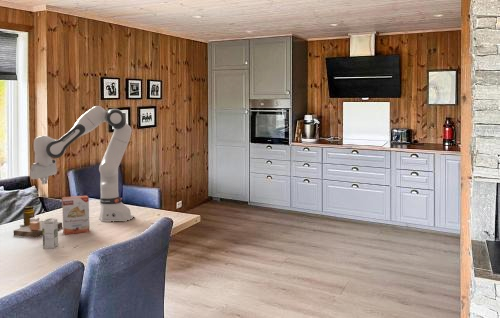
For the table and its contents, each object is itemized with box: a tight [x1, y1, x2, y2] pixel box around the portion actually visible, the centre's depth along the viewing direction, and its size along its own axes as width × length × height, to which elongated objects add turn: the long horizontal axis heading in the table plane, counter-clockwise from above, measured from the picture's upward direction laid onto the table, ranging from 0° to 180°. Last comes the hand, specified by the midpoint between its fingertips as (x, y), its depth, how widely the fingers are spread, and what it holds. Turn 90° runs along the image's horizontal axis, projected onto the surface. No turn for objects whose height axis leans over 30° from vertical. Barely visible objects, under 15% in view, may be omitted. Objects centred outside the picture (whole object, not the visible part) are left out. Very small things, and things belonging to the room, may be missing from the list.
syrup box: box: [42, 217, 59, 250], centre depth 227 cm, size 6×6×14 cm
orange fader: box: [30, 222, 40, 230], centre depth 248 cm, size 4×3×4 cm
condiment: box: [19, 205, 36, 228], centre depth 267 cm, size 7×8×12 cm
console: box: [13, 220, 63, 239], centre depth 256 cm, size 15×22×3 cm
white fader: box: [30, 216, 40, 223], centre depth 257 cm, size 4×3×4 cm
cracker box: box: [61, 195, 91, 235], centre depth 253 cm, size 14×6×21 cm, turn 117°
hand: (44, 184), depth 271 cm, fingers closed
